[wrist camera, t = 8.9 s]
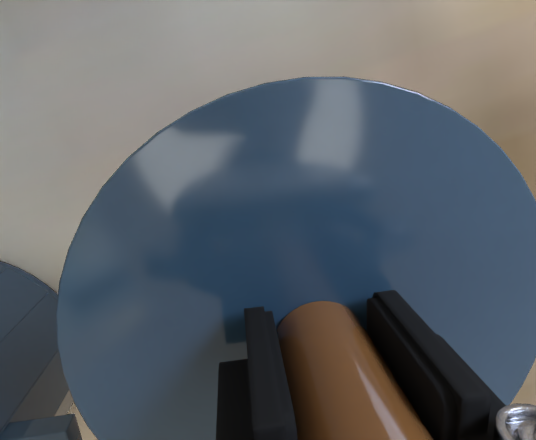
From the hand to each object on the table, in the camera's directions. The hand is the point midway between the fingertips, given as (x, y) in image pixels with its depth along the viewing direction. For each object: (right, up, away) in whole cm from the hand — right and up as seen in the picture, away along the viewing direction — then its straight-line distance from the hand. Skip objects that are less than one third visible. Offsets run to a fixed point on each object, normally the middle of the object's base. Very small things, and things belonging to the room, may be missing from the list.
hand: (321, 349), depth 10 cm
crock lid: (0, 0, +1) cm, 1 cm away
